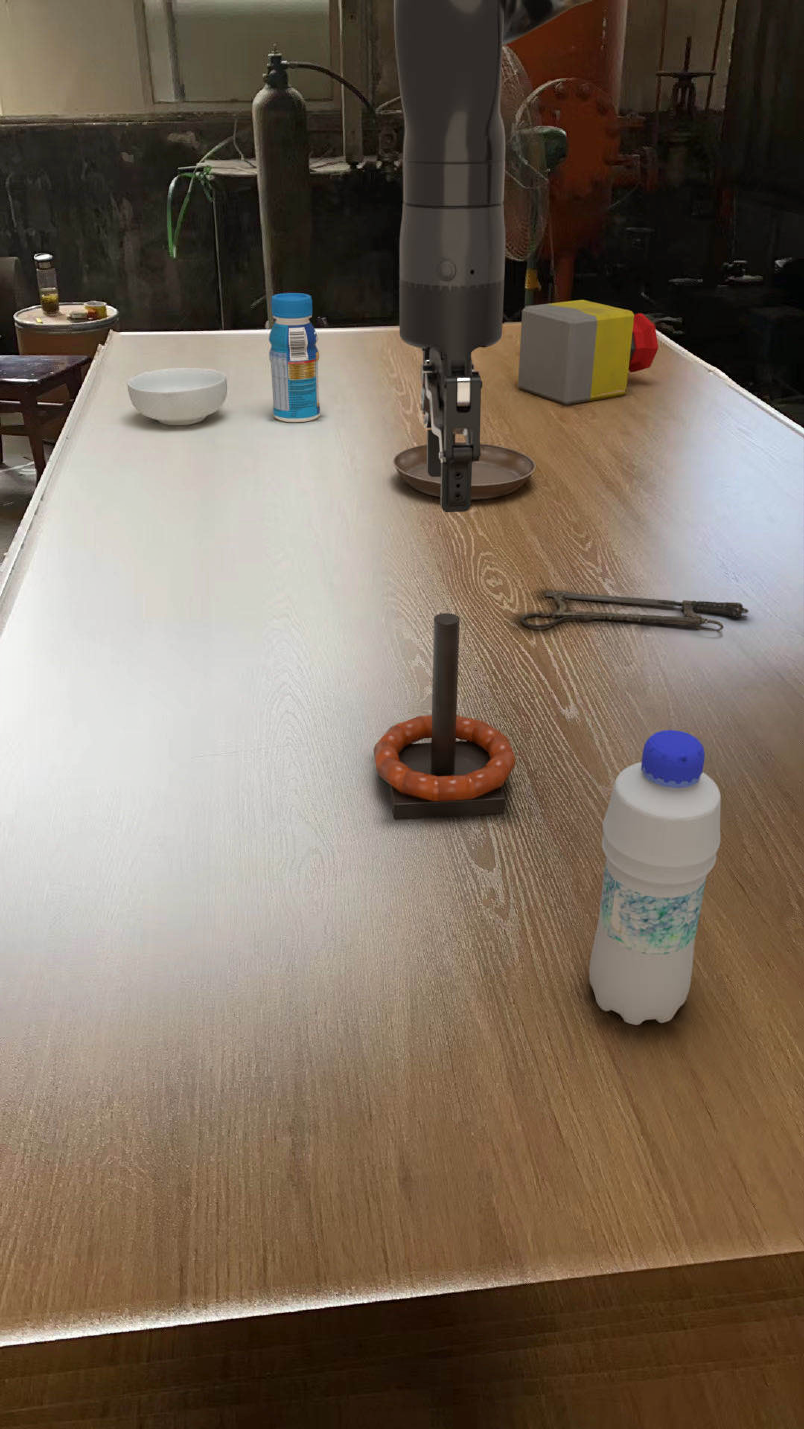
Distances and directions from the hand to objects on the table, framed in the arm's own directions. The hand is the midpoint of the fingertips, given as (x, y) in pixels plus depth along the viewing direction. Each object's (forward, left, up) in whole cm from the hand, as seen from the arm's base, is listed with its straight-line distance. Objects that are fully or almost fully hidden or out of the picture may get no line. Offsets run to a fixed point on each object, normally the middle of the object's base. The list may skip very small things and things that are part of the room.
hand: (447, 492), depth 86 cm
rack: (+1, +7, -23) cm, 24 cm away
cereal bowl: (+32, -109, -23) cm, 116 cm away
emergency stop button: (-44, -124, -23) cm, 134 cm away
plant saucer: (-12, -71, -23) cm, 76 cm away
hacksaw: (-24, -23, -23) cm, 41 cm away
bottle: (-8, +33, -23) cm, 41 cm away
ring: (+1, +6, -21) cm, 22 cm away
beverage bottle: (+12, -109, -23) cm, 112 cm away
